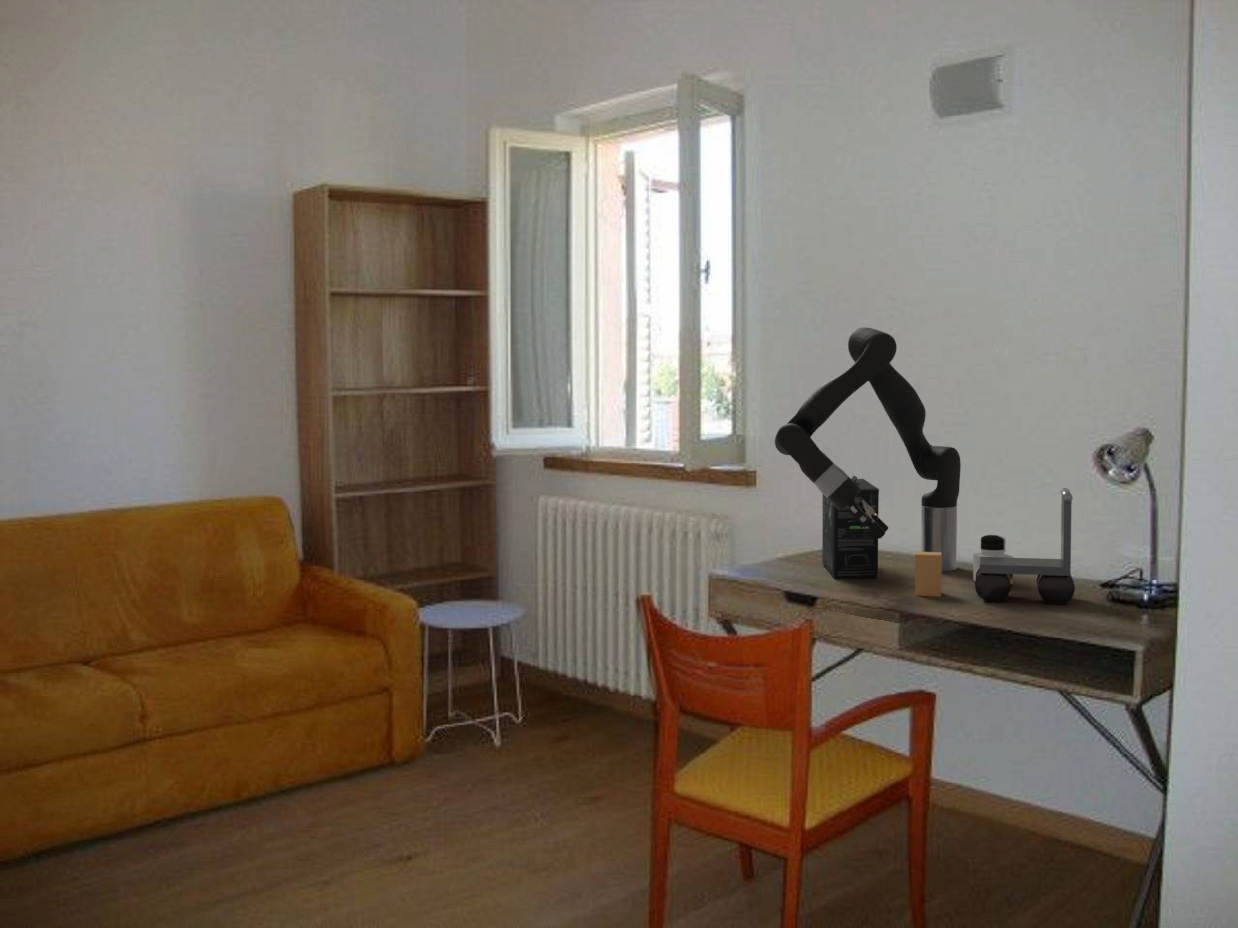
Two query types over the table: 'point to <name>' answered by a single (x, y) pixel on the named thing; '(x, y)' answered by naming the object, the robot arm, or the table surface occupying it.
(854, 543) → the headset box
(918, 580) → the light orange block
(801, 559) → the table surface
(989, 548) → the medicine bottle
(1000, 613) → the table surface
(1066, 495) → the trolley
